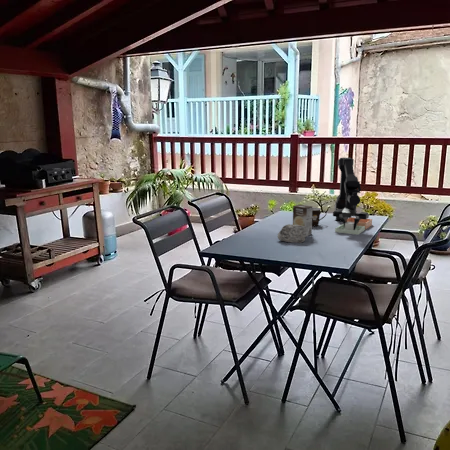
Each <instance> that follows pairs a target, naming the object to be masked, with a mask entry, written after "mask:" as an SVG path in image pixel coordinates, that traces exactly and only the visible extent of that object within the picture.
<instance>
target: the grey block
mask: <svg viewBox="0 0 450 450" xmlns="http://www.w3.org/2000/svg"><path fill="white" fill-rule="evenodd" d="M345 229H347V230H354V222H347V223H345Z"/></svg>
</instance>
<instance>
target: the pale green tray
mask: <svg viewBox="0 0 450 450" xmlns="http://www.w3.org/2000/svg"><path fill="white" fill-rule="evenodd" d="M365 230H366V229H365V227H364V226H356V229H355V230H347V229H345V227H344V224H343V223H342V224H340V225H339V226H336V227H335V229H334V232H335V233H340V234H350V235H360V234H361V233H363V232H364V231H365Z"/></svg>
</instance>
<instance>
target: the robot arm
mask: <svg viewBox="0 0 450 450" xmlns="http://www.w3.org/2000/svg"><path fill="white" fill-rule="evenodd" d="M354 162H355V161H354V158H351V157H339V159H337V166H338V169H339V170H340V178H339V179H340V180H339V181H340V182H339V194H338V196H337V197H336V201H335V203H334V211H333V212H332V216H333V217H335V219H334V221H336V222H342V224H344V227H345V223H347V219H348V218H351V217H354V218H355V219H354V230H355V229H356V226H357V224H358V222H359V220H361V219H370V218H369V217H370V216H369V212H363V211H361V212H359V213H357V206H358V205H359V204H360V202H361V197H360V196H359V195H358V194H361V191H362V187H361V183H360V181H359V179H358V177H357V176H356V175H355V169H354Z"/></svg>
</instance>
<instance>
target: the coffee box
mask: <svg viewBox="0 0 450 450" xmlns="http://www.w3.org/2000/svg"><path fill="white" fill-rule="evenodd" d="M312 208H313V206H312V205H304V204H297V205H293V207H292V225H293V224H294V225H301V226H307V227H308V228H307V230H306V236H305V238H306V237H309V236H310V235H312V234H313V232H312V231H313V227H312Z"/></svg>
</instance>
